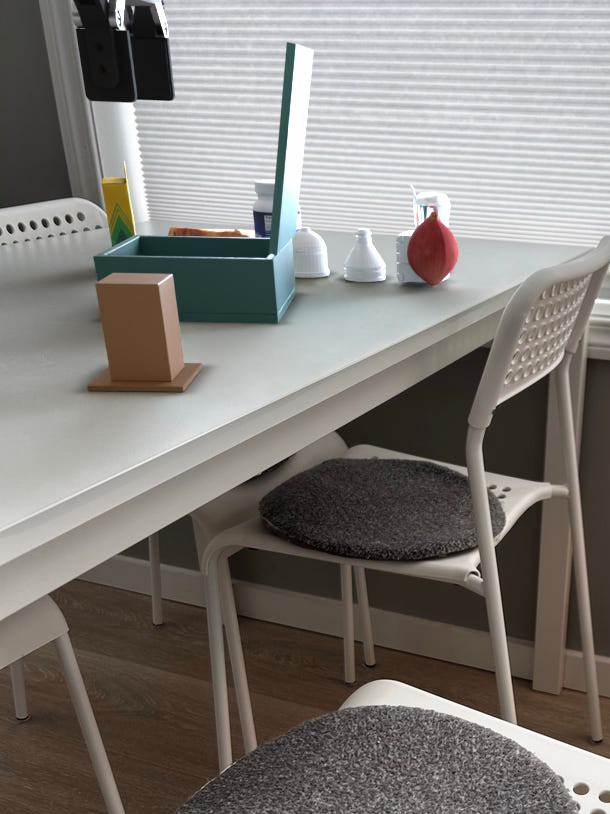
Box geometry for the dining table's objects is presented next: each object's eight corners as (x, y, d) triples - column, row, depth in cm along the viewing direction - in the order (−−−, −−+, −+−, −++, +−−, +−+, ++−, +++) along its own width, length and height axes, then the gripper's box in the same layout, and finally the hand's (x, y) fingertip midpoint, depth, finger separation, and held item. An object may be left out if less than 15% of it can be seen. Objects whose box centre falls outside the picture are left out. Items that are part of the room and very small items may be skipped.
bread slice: (168, 242, 135) (164, 214, 133) (296, 242, 138) (294, 214, 136) (155, 263, 120) (150, 231, 118) (298, 262, 123) (296, 231, 121)
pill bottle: (258, 265, 120) (250, 178, 115) (304, 265, 121) (298, 179, 116) (257, 273, 115) (249, 182, 110) (305, 272, 116) (299, 183, 111)
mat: (87, 390, 70) (86, 385, 70) (114, 366, 76) (113, 361, 76) (183, 391, 71) (182, 386, 70) (202, 368, 77) (201, 362, 76)
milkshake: (401, 271, 119) (399, 183, 114) (434, 267, 123) (434, 182, 117) (422, 276, 116) (422, 186, 111) (456, 272, 120) (457, 185, 114)
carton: (111, 381, 71) (94, 283, 68) (127, 366, 75) (112, 272, 72) (171, 382, 71) (158, 284, 68) (185, 366, 75) (172, 273, 72)
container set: (450, 280, 114) (450, 231, 112) (437, 287, 110) (437, 236, 107) (296, 269, 119) (293, 221, 116) (278, 276, 114) (274, 226, 111)
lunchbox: (103, 320, 91) (92, 256, 88) (142, 292, 103) (134, 234, 100) (278, 323, 92) (273, 259, 89) (296, 294, 104) (292, 238, 101)
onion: (398, 287, 108) (397, 211, 104) (422, 280, 112) (422, 207, 108) (443, 292, 106) (444, 215, 102) (466, 285, 110) (467, 210, 106)
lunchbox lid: (286, 41, 80) (296, 44, 80) (305, 48, 93) (313, 50, 93) (268, 253, 88) (277, 255, 89) (288, 232, 101) (295, 234, 101)
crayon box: (115, 263, 119) (99, 160, 113) (140, 262, 120) (125, 160, 114) (115, 272, 113) (97, 164, 107) (141, 272, 114) (125, 164, 108)
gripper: (78, -189, 65) (117, 97, 74) (-34, -271, 50) (32, 100, 59) (188, -183, 65) (214, 101, 74) (110, -264, 50) (154, 105, 59)
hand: (134, 100), depth 66 cm, fingers open, 9 cm apart
